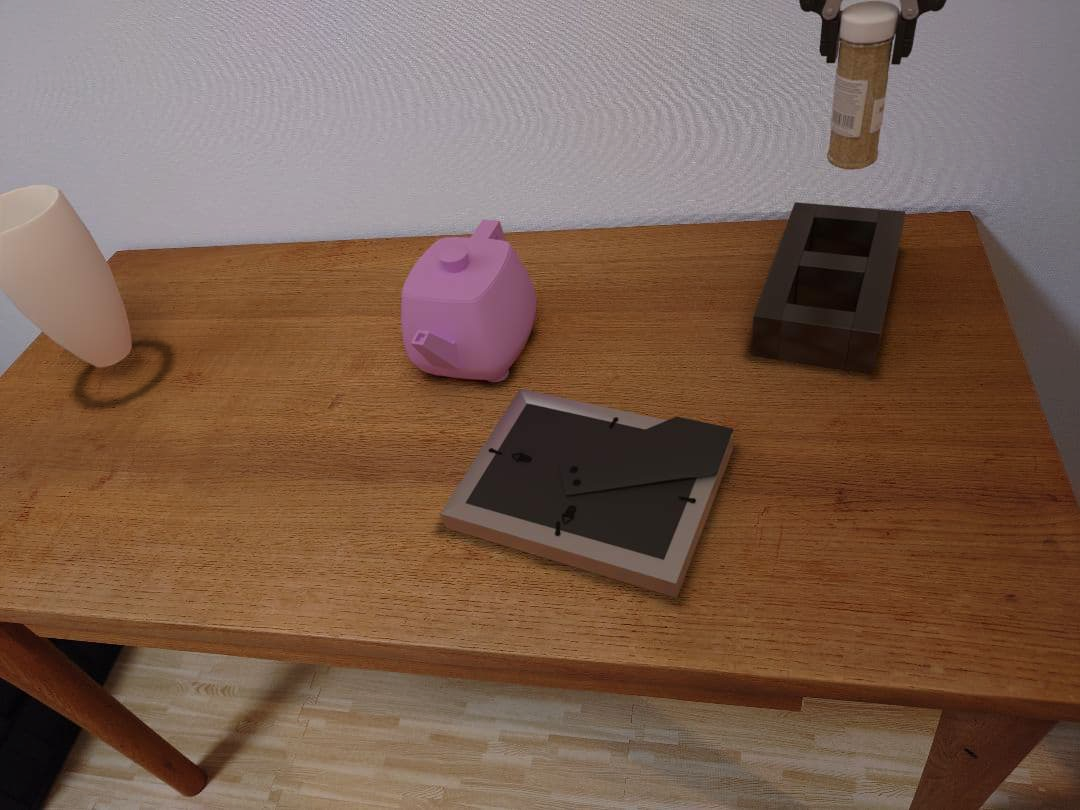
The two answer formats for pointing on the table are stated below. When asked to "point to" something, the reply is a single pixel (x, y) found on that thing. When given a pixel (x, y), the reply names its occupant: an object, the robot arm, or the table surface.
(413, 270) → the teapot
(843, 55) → the spice jar
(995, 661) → the table surface
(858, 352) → the holder
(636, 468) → the picture frame
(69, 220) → the peach conical vase
